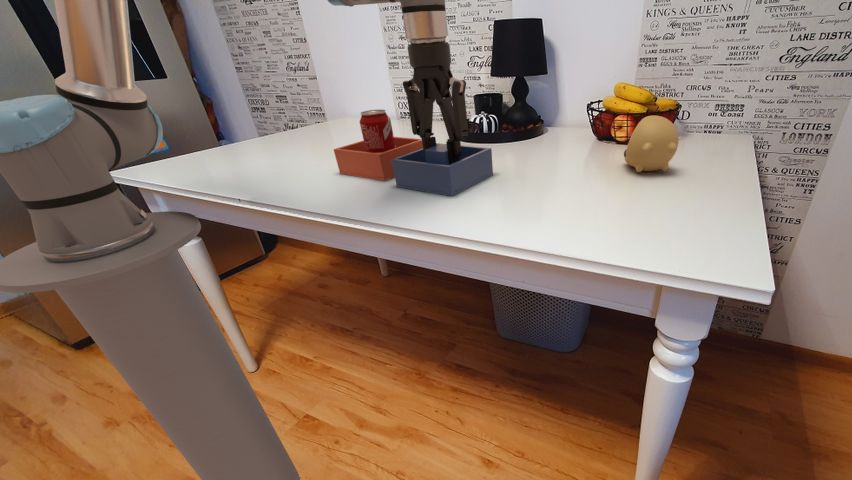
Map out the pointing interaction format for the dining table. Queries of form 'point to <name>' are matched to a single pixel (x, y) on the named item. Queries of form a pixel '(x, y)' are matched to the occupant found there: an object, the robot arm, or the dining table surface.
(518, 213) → the dining table surface
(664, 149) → the toy pig
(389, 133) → the soda can
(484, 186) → the dining table surface
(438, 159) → the blue block
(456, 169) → the blue bin
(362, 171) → the red bin
